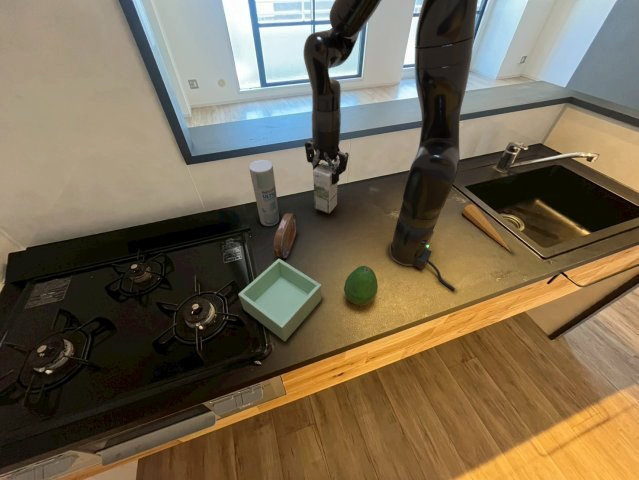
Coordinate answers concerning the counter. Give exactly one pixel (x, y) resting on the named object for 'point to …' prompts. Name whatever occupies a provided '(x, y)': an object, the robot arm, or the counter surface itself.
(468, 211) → the carrot
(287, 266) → the mint storage bin
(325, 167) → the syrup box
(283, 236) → the tin
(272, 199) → the spray can
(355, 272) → the avocado
